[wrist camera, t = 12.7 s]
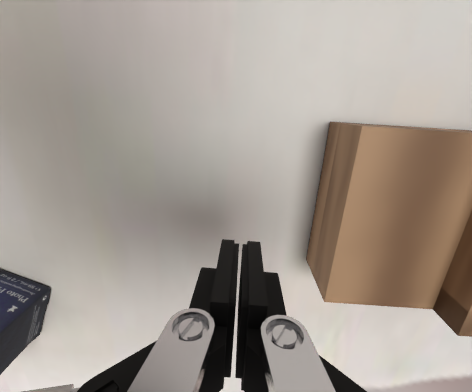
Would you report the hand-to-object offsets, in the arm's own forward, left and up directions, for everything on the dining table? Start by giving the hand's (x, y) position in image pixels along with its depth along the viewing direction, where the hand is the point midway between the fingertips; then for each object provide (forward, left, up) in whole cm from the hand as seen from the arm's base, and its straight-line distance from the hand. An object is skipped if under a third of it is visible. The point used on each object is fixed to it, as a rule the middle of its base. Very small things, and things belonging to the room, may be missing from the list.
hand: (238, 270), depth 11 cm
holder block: (+15, +1, -9) cm, 17 cm away
